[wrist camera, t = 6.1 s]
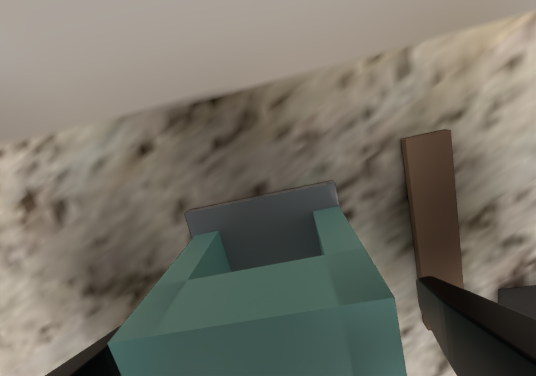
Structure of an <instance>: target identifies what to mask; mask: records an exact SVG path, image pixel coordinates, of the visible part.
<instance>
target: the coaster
mask: <svg viewBox="0 0 536 376" xmlns="http://www.w3.org/2000/svg"><path fill="white" fill-rule="evenodd" d="M336 206H339V201H338V196H337V190H336V185H335V182H334V181H333V180H332V181H327V182H323V183H318V184H313V185H308V186H303V187H299V188H294V189H289V190H284V191H279V192H274V193H270V194H265V195H260V196H255V197H250V198H246V199H241V200H236V201H231V202H226V203H222V204H217V205H212V206H207V207H202V208H198V209H193V210H188V211H187V212H186V213H184V215H185V218H186V221H187V224H188V227H189V231H190V234H191V237H192V239H193V238H194V237H195V235H200V234H205V233H210V232H215V231H219V233H220V236H221V240H222V243H223V246H224V250H225V253H226V256H227V260H228V263H229V266H230V270H231V272H235V271H240V270H245V269H251V268H256V267H262V266H267V265H272V264H278V263H283V262H289V261H294V260H300V259H305V258H310V257H316V256H321V255H322V253H321V248H320V243H319V239H318V234H317V229H316V225H315V220H314V216H313V211H317V210H322V209H326V208H331V207H336Z"/></svg>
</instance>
